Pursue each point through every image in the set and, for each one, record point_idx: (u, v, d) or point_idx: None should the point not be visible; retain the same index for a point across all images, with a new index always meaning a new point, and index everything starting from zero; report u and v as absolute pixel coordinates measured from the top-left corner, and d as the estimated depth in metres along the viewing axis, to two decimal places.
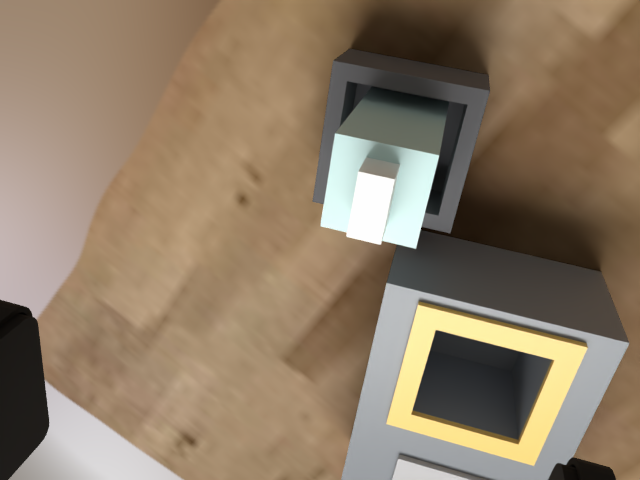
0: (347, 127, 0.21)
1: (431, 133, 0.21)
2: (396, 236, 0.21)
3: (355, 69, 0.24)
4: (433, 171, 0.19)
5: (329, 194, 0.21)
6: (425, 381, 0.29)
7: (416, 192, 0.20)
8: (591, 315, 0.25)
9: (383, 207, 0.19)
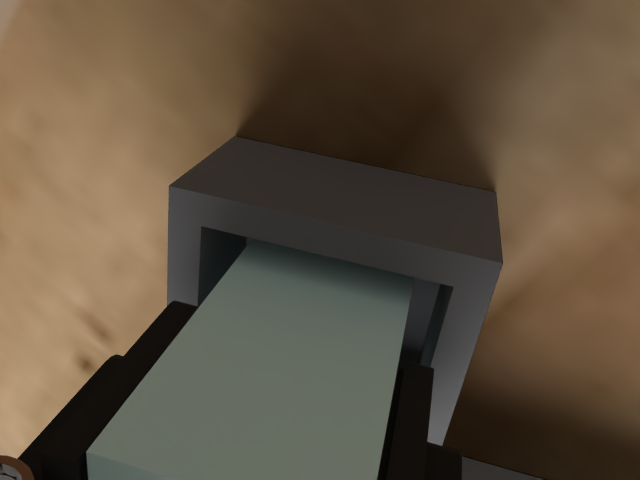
0: (144, 405, 0.08)
1: (364, 391, 0.09)
2: None
3: (215, 205, 0.11)
4: None
5: None
6: None
7: None
8: None
9: None
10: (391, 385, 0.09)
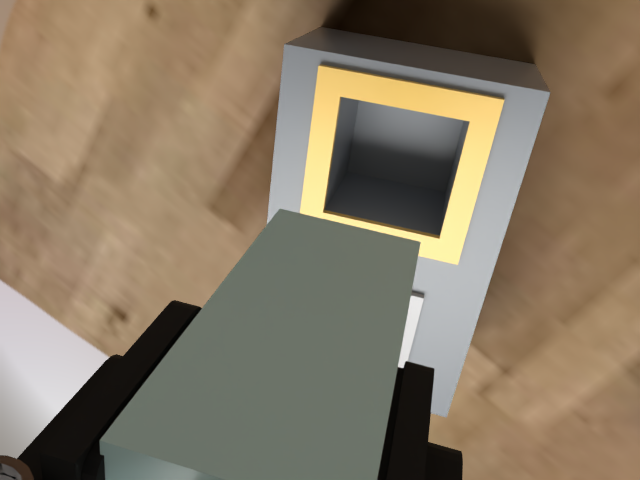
0: (154, 396, 0.08)
1: (366, 385, 0.09)
2: None
3: None
4: None
5: None
6: (345, 192, 0.27)
7: None
8: (513, 78, 0.22)
9: None
10: (392, 380, 0.09)
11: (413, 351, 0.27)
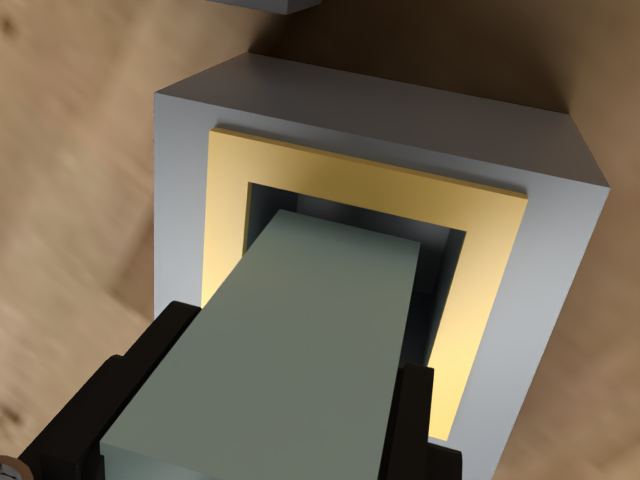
0: (153, 398, 0.08)
1: (366, 386, 0.09)
2: None
3: None
4: None
5: None
6: None
7: None
8: (541, 153, 0.13)
9: None
10: (392, 381, 0.09)
11: None
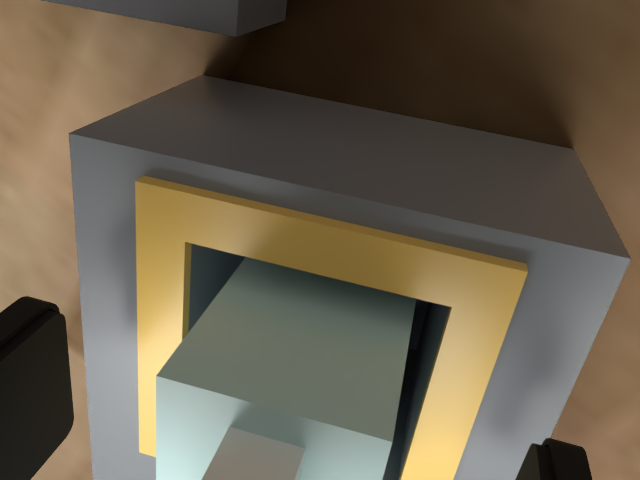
0: (199, 342, 0.09)
1: (385, 335, 0.10)
2: None
3: None
4: (380, 469, 0.08)
5: None
6: None
7: None
8: (542, 207, 0.11)
9: None
10: (408, 331, 0.10)
11: None
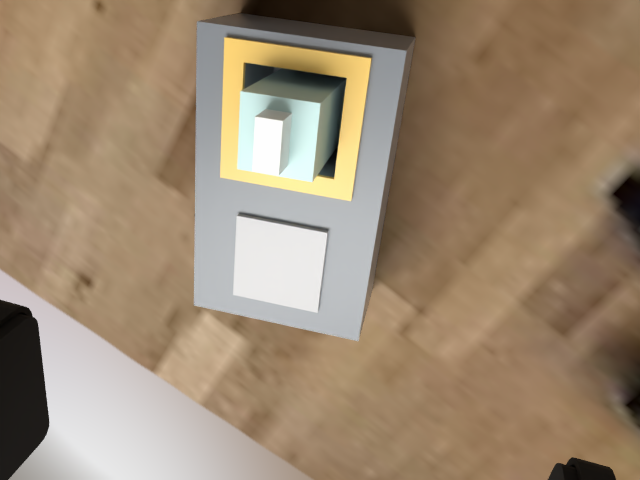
0: (253, 87, 0.26)
1: (322, 91, 0.27)
2: (296, 173, 0.26)
3: None
4: (317, 117, 0.25)
5: (241, 142, 0.26)
6: None
7: (307, 134, 0.25)
8: (383, 43, 0.27)
9: (276, 144, 0.24)
10: (332, 91, 0.27)
11: (324, 282, 0.32)
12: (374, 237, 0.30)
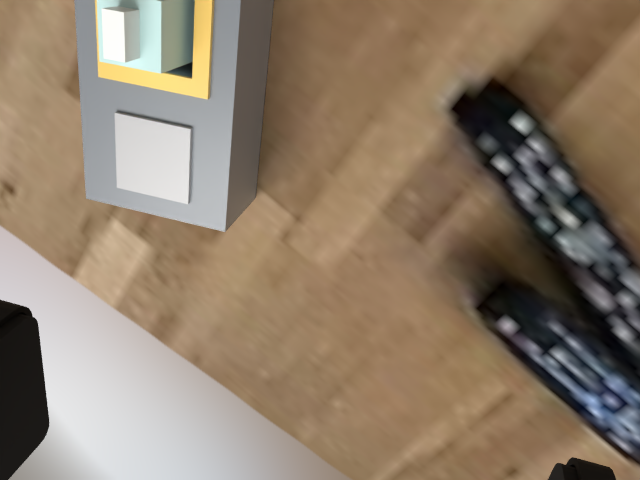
0: None
1: None
2: (147, 65, 0.30)
3: None
4: (160, 13, 0.29)
5: (100, 36, 0.30)
6: None
7: (153, 29, 0.30)
8: None
9: (121, 34, 0.28)
10: None
11: (193, 176, 0.36)
12: (230, 134, 0.34)
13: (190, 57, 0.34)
